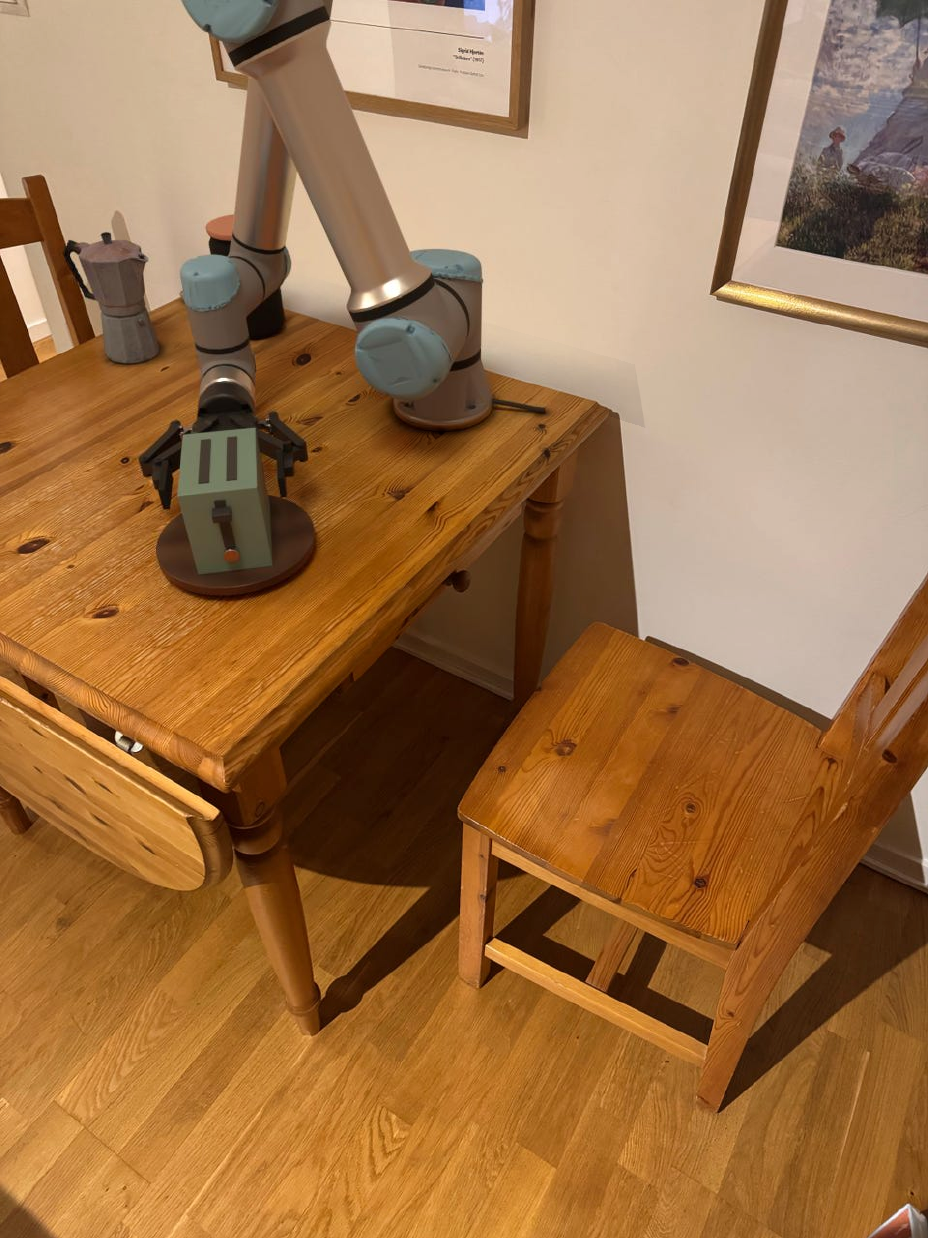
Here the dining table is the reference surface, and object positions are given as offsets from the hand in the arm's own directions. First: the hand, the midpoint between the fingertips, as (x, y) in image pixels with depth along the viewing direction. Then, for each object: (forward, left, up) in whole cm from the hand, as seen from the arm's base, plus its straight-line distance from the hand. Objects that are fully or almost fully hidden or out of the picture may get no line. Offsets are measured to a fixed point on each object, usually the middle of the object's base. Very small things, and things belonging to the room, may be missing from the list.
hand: (223, 494), depth 101 cm
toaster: (0, 0, -7) cm, 7 cm away
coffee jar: (+14, -64, -9) cm, 66 cm away
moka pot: (+33, -53, -9) cm, 63 cm away
